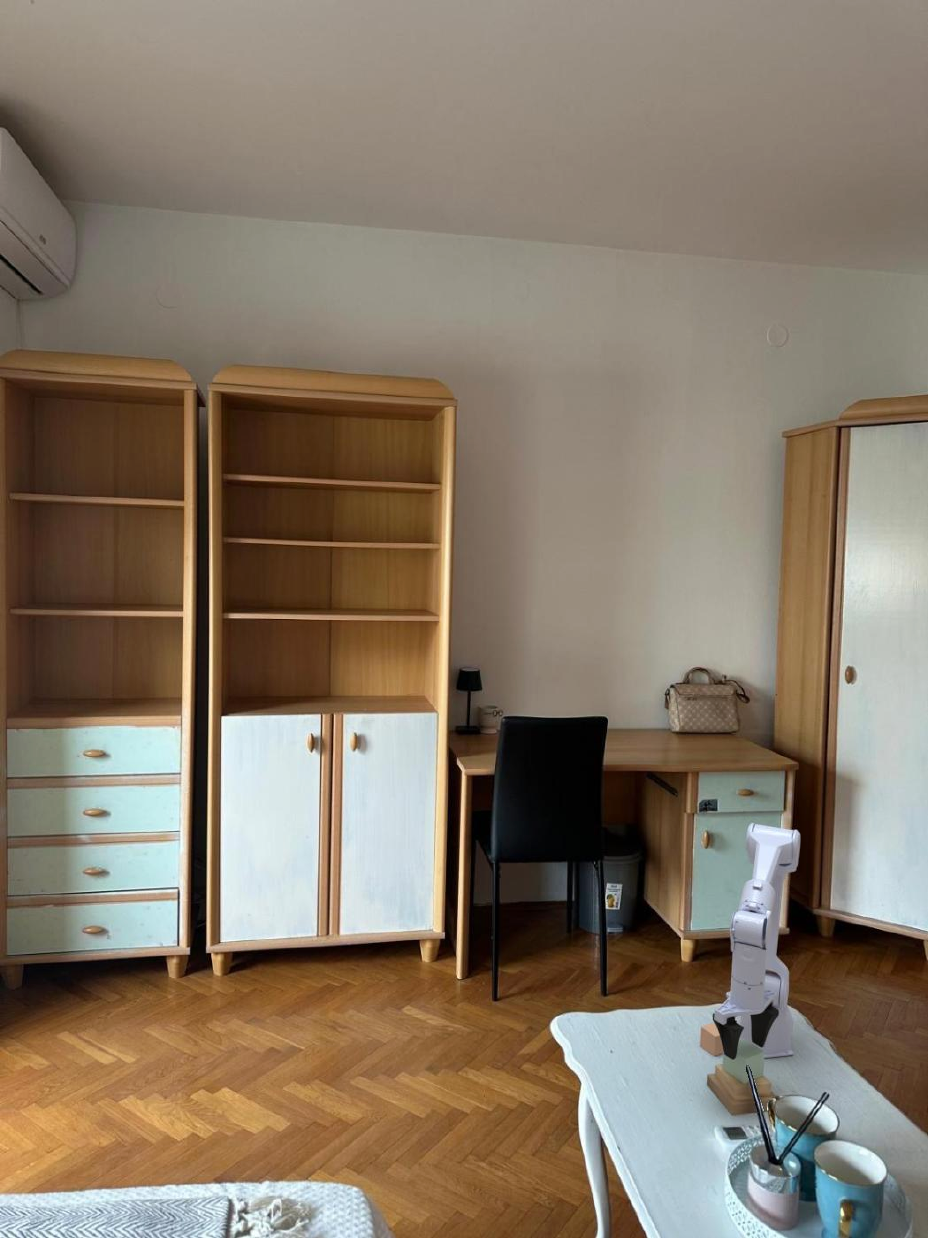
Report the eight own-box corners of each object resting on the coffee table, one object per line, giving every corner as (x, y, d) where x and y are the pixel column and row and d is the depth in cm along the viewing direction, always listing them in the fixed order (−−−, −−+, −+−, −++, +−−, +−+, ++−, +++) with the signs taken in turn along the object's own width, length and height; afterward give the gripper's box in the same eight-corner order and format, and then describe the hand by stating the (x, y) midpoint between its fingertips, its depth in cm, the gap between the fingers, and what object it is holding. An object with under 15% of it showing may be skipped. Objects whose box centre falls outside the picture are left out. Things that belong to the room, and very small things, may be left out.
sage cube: (741, 1061, 159) (742, 1038, 159) (763, 1076, 155) (764, 1051, 155) (722, 1069, 157) (723, 1045, 156) (744, 1084, 152) (745, 1059, 152)
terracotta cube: (714, 1041, 174) (715, 1022, 174) (729, 1051, 170) (730, 1032, 170) (699, 1045, 172) (700, 1026, 172) (714, 1056, 168) (715, 1036, 168)
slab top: (748, 1073, 160) (749, 1061, 160) (770, 1096, 153) (771, 1083, 153) (714, 1077, 158) (715, 1065, 158) (734, 1101, 151) (735, 1087, 151)
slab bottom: (750, 1082, 161) (751, 1069, 161) (778, 1112, 153) (778, 1099, 152) (706, 1087, 159) (707, 1074, 159) (732, 1118, 150) (732, 1105, 150)
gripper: (756, 959, 162) (752, 1029, 163) (702, 978, 154) (699, 1050, 155) (788, 975, 156) (784, 1047, 157) (734, 995, 148) (730, 1071, 149)
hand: (743, 1050), depth 155 cm, fingers open, 7 cm apart
